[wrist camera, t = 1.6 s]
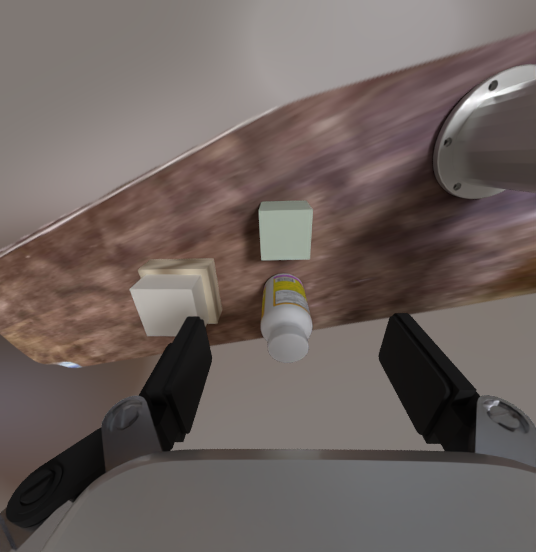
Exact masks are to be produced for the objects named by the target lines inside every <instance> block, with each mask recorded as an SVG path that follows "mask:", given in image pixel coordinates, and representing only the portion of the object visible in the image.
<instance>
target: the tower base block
mask: <svg viewBox="0 0 536 552" xmlns="http://www.w3.org/2000/svg"><path fill="white" fill-rule="evenodd" d="M138 272H139V275H140V277H141V279H142V278H143V277H144V276H145V275H146V274H177V275H201V276H202V282H203V287H204V293H205V298H206V304H207V309H208V315H209V320H208V323H207V324H217V323H218V321H219V318H220V315H221V312H222V306H221V300H220V294H219V288H218V282H217V276H216V270H215V264H214V258H203V259H151V260H149V261H148V262H147V263H146V264H144V265H143V266H142V267H141V268H139V269H138Z"/></svg>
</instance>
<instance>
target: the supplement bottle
mask: <svg viewBox="0 0 536 552" xmlns="http://www.w3.org/2000/svg"><path fill="white" fill-rule="evenodd" d="M261 332H262V335H263V337H264V338H265V340H266V341H267V342H268V352H269V354H270V356H271V357H272V358H274V359H275V360H277V361H279V362H283V363H293V362H296V361H299V360H301V359H303V358H304V357H305V356H306V354H307V353H308V350H309V345H308V338H309V337H310V335H311V332H312V320H311V316H310V312H309V308H308V304H307V299H306V295H305V291H304V287H303V284H302V283H301V281H300V280H299V279H298V278H297V277H295V276H293V275H291V274H285V273H283V274H277V275H275V276H273V277H271V278H270V279H269V280H268V281H267V282H266V284H265V286H264V290H263V302H262V316H261Z"/></svg>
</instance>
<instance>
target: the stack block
mask: <svg viewBox="0 0 536 552" xmlns="http://www.w3.org/2000/svg"><path fill="white" fill-rule="evenodd" d="M312 217H313V209H312V208H311V206H310V205H309V204H308V202H307V201H273V202H261V205H260V208H259V228H260V246H261V260H303V259H310V248H311V232H312Z"/></svg>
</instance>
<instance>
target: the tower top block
mask: <svg viewBox="0 0 536 552" xmlns="http://www.w3.org/2000/svg"><path fill="white" fill-rule="evenodd" d="M130 292H131V294H132V297H133V300H134V302H135V305H136V308H137V310H138V313H139V316H140V318H141V321H142V324H143V326H144V329H145V332H146V334H147V336H176V335H177V334H178V332H179V330H180V328H181V326H182V325H183V323H184V321H185V319H186V318H187V317H188V316H199V317H200V319H203V320H204V324H205V327H206V325H207V323H208V320H209V315H208V309H207V304H206V298H205V293H204V287H203V282H202V276H201V275H177V274H146V275H145V276H144V277H143V278H142V279H140V280H139V281H138V282H137V283H136V284H135V285H134V286H133V287H131V288H130Z"/></svg>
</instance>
